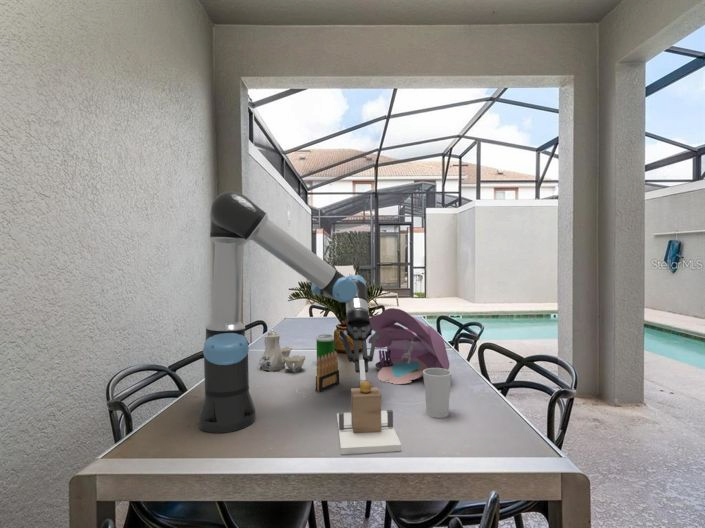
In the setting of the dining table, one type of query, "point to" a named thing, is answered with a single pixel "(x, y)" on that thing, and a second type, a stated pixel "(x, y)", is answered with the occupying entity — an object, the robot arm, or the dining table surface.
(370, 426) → the block
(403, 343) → the flower arrangement
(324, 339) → the soda can
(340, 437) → the stand
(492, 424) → the dining table surface
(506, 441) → the dining table surface
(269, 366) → the chinaware
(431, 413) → the cup
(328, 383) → the ammunition clip
